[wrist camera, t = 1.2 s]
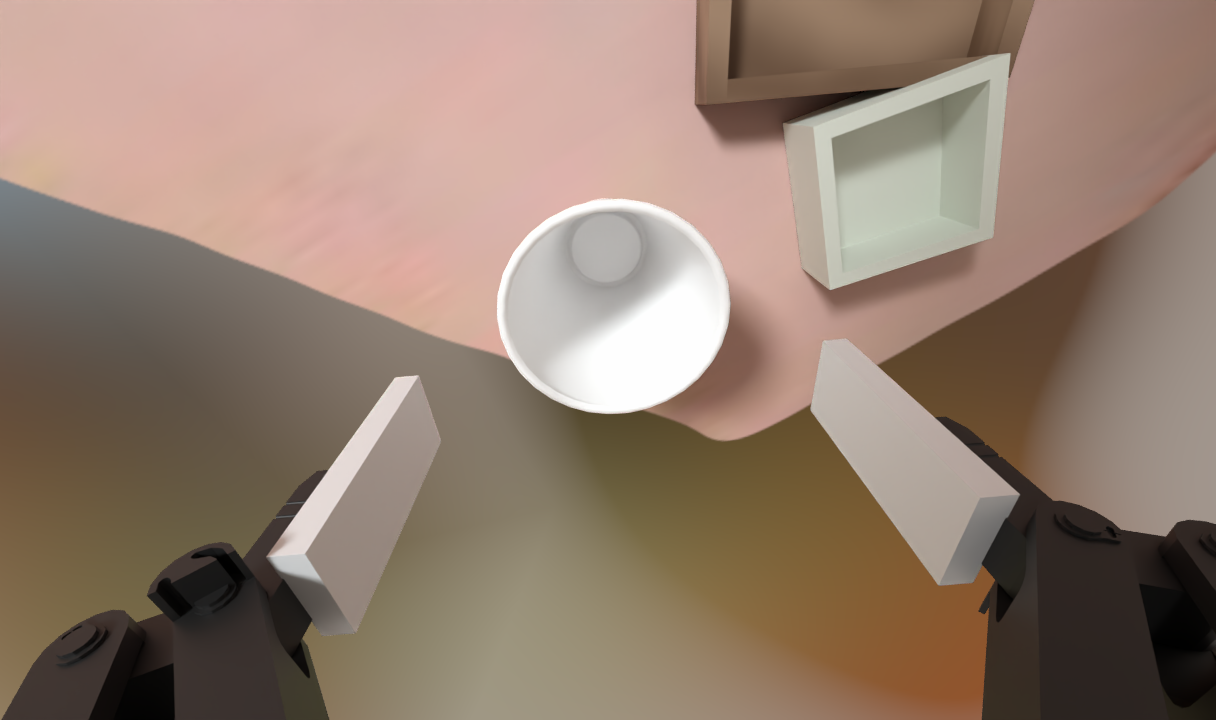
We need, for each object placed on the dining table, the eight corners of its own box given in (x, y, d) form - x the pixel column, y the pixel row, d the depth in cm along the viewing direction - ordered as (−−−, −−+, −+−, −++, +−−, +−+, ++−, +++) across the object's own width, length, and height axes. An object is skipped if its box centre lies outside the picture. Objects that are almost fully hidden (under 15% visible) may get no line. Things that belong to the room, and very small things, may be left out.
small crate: (782, 123, 25) (813, 126, 22) (949, 59, 24) (1010, 52, 20) (801, 268, 29) (829, 290, 26) (943, 220, 28) (993, 237, 25)
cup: (678, 150, 26) (731, 179, 16) (687, 307, 31) (732, 399, 21) (510, 177, 26) (464, 222, 17) (546, 327, 31) (527, 428, 22)
